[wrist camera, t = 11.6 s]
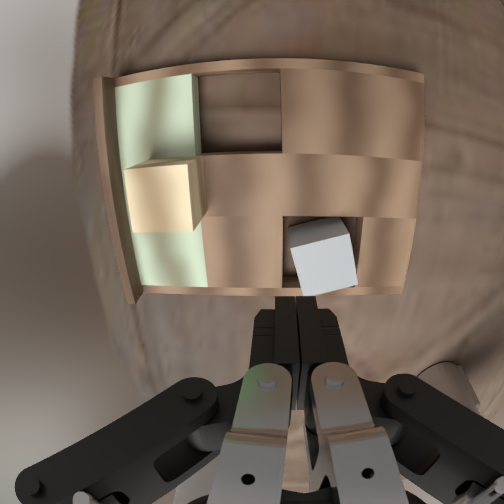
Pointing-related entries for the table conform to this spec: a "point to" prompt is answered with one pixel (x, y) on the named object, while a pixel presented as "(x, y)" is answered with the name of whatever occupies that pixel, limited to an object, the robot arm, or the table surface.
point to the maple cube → (166, 194)
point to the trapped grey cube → (322, 255)
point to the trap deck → (268, 175)
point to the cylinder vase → (196, 484)
